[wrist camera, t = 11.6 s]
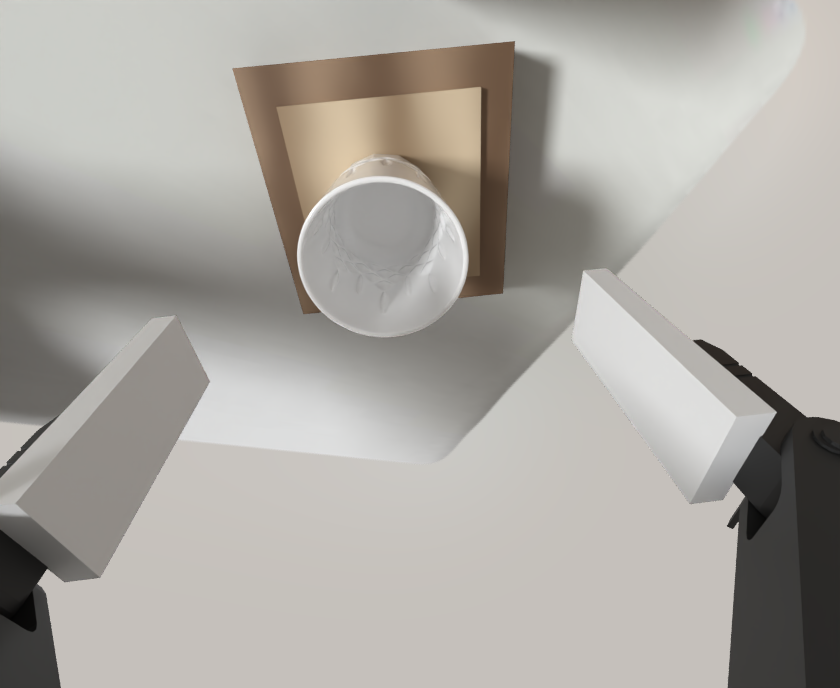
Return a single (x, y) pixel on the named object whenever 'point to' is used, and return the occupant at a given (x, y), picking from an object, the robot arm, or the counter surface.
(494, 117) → the walnut riser
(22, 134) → the counter surface
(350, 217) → the white cup
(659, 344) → the robot arm
